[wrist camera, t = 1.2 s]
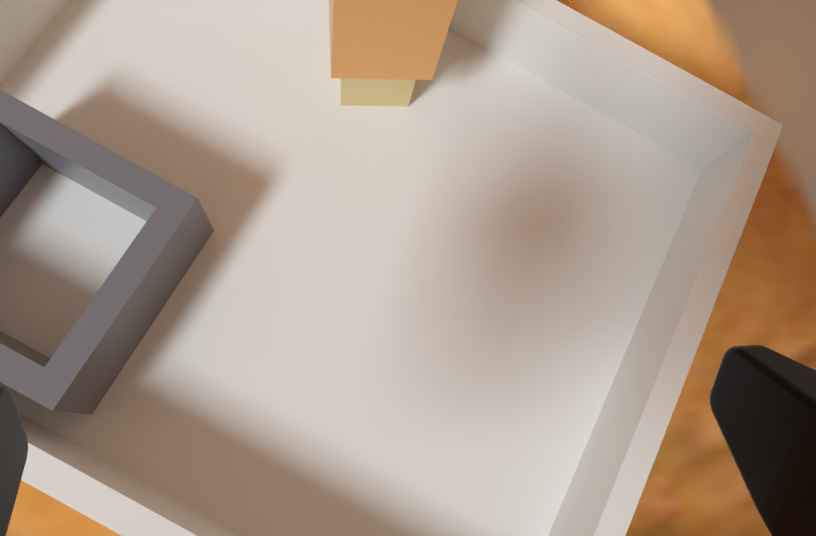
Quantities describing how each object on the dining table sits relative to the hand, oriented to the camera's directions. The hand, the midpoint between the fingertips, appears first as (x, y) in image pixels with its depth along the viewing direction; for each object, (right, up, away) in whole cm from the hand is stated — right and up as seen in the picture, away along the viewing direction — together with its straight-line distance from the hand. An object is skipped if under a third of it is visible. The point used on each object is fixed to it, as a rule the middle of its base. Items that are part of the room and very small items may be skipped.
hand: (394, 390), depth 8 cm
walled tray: (-3, +3, +14) cm, 15 cm away
